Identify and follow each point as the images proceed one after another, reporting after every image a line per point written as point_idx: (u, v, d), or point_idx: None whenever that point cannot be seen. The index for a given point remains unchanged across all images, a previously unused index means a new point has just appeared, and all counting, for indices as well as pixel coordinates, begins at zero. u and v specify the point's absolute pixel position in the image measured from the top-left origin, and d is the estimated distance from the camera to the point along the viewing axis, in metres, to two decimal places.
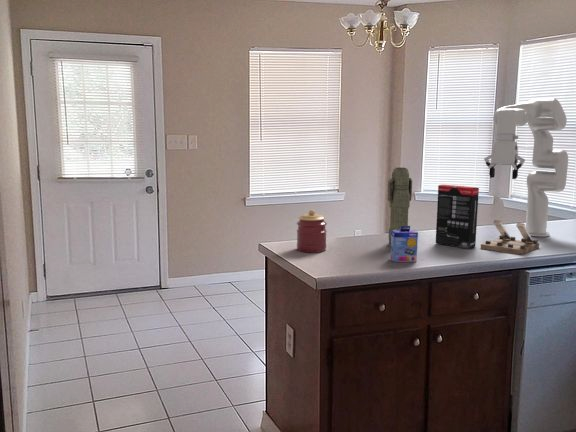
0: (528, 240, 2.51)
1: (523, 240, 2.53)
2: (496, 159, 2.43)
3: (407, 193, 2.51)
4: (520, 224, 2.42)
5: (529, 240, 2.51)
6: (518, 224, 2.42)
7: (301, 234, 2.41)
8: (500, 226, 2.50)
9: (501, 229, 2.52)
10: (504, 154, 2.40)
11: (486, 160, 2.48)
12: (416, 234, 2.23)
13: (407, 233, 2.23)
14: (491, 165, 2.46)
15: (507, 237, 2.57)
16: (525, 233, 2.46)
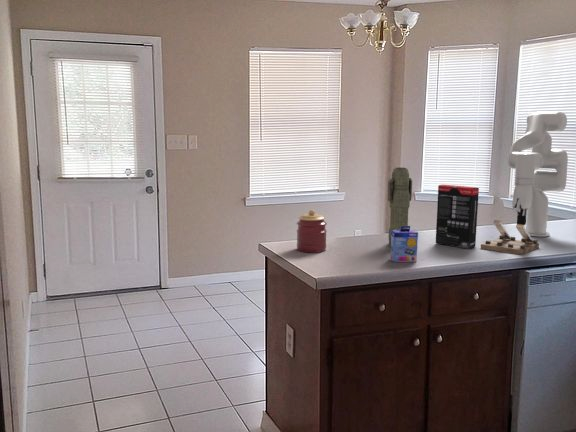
0: (528, 240, 2.51)
1: (523, 240, 2.53)
2: (526, 203, 2.38)
3: (407, 193, 2.51)
4: (519, 225, 2.42)
5: (529, 240, 2.51)
6: (518, 225, 2.42)
7: (301, 234, 2.41)
8: (500, 226, 2.50)
9: (501, 229, 2.52)
10: (529, 198, 2.40)
11: (520, 210, 2.38)
12: (416, 234, 2.23)
13: (407, 233, 2.23)
14: (524, 212, 2.40)
15: (507, 237, 2.57)
16: (525, 234, 2.46)
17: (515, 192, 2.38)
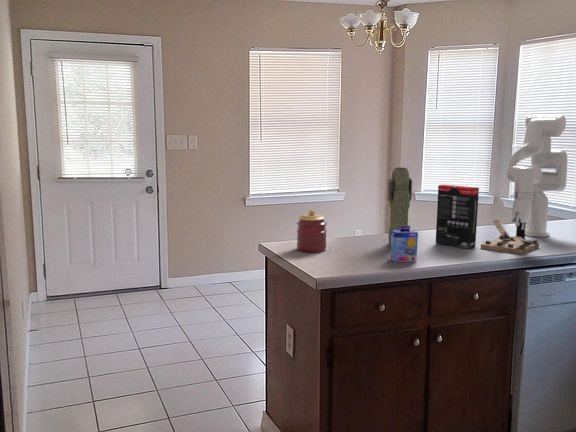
0: None
1: None
2: (525, 217, 2.39)
3: (407, 193, 2.51)
4: (516, 237, 2.41)
5: None
6: (515, 238, 2.41)
7: (301, 234, 2.41)
8: (500, 226, 2.50)
9: (501, 229, 2.52)
10: (528, 212, 2.41)
11: (519, 224, 2.39)
12: (416, 234, 2.23)
13: (407, 233, 2.23)
14: (523, 226, 2.41)
15: (507, 237, 2.57)
16: None
17: (514, 206, 2.39)
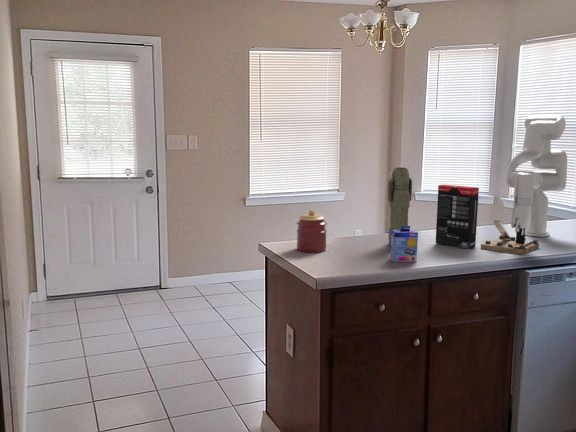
0: None
1: None
2: (524, 223, 2.39)
3: (407, 193, 2.51)
4: (516, 245, 2.41)
5: None
6: (514, 245, 2.41)
7: (301, 234, 2.41)
8: (500, 226, 2.50)
9: (501, 229, 2.52)
10: (528, 217, 2.41)
11: (518, 230, 2.40)
12: (416, 234, 2.23)
13: (407, 233, 2.23)
14: (522, 231, 2.41)
15: (507, 237, 2.57)
16: None
17: (514, 212, 2.39)
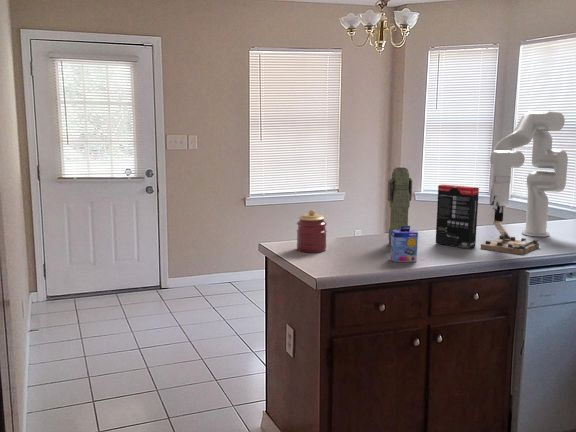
0: None
1: (523, 240, 2.53)
2: (502, 201, 2.45)
3: (407, 193, 2.51)
4: (516, 245, 2.41)
5: None
6: (514, 245, 2.41)
7: (301, 234, 2.41)
8: (500, 226, 2.50)
9: (501, 229, 2.52)
10: (506, 195, 2.47)
11: (497, 207, 2.45)
12: (416, 234, 2.23)
13: (407, 233, 2.23)
14: (501, 209, 2.47)
15: (507, 237, 2.57)
16: None
17: (492, 190, 2.45)
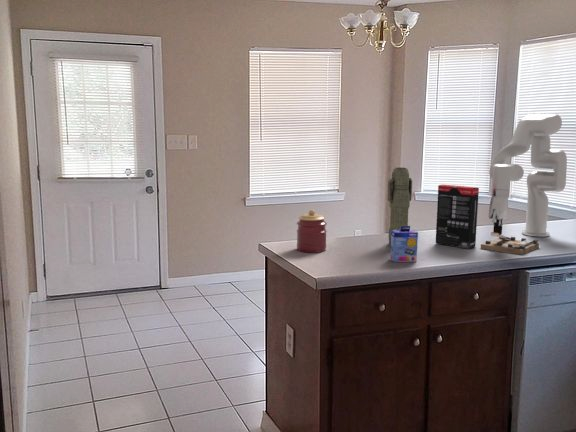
0: None
1: (523, 240, 2.53)
2: (501, 214, 2.46)
3: (407, 193, 2.51)
4: (516, 245, 2.41)
5: None
6: (514, 245, 2.41)
7: (301, 234, 2.41)
8: (498, 236, 2.49)
9: (499, 237, 2.51)
10: (505, 209, 2.48)
11: (496, 221, 2.46)
12: (416, 234, 2.23)
13: (407, 233, 2.23)
14: (500, 222, 2.48)
15: None
16: None
17: (491, 203, 2.46)
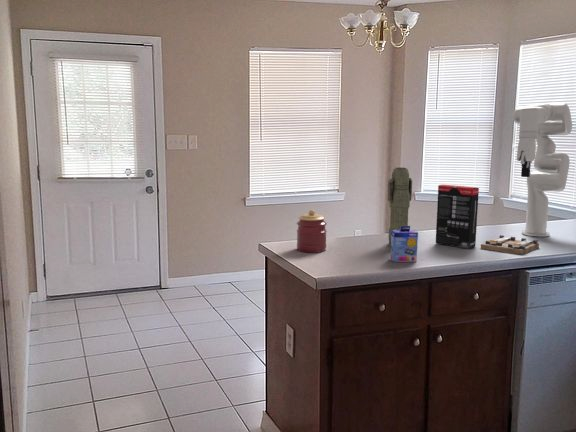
0: None
1: (523, 240, 2.53)
2: (530, 156, 2.48)
3: (407, 193, 2.51)
4: (516, 245, 2.41)
5: None
6: (514, 245, 2.41)
7: (301, 234, 2.41)
8: None
9: None
10: (533, 151, 2.50)
11: (524, 162, 2.48)
12: (416, 234, 2.23)
13: (407, 233, 2.23)
14: (528, 164, 2.50)
15: None
16: None
17: (519, 145, 2.48)
